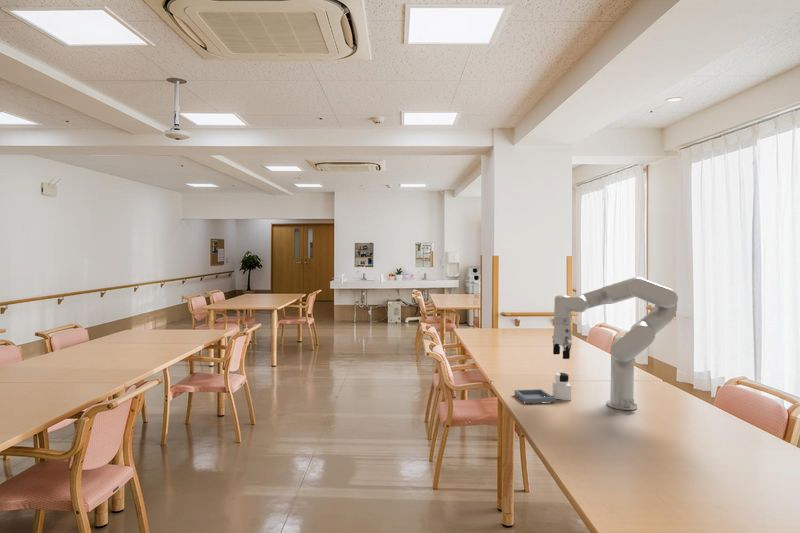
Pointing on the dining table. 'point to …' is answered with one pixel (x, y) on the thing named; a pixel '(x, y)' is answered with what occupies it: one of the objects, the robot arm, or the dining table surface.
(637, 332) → the robot arm
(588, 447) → the dining table surface
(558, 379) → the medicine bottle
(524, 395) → the tray
